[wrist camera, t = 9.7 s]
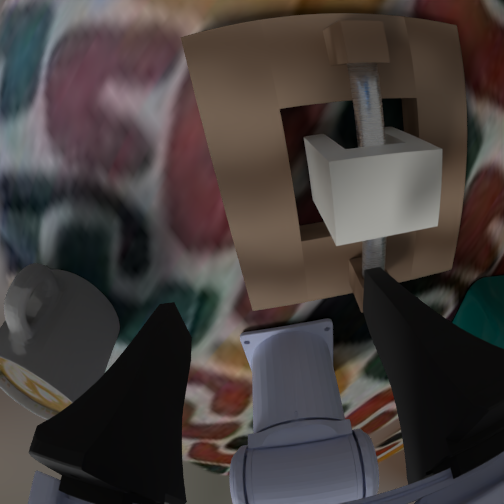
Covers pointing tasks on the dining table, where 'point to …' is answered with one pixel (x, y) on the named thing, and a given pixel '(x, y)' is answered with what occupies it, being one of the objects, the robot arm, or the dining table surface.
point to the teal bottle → (484, 310)
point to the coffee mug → (54, 338)
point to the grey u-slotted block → (375, 186)
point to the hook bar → (368, 138)
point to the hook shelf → (314, 92)
